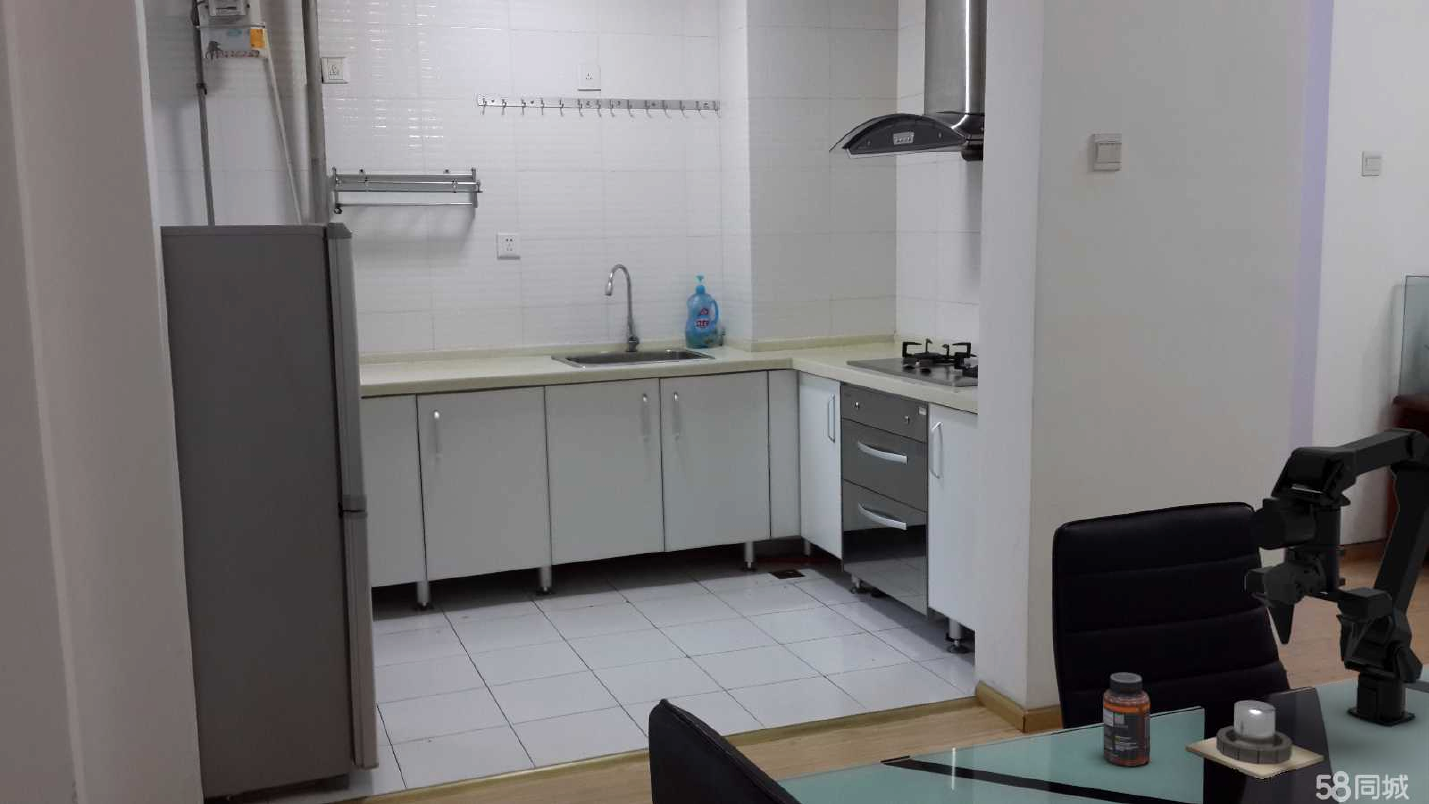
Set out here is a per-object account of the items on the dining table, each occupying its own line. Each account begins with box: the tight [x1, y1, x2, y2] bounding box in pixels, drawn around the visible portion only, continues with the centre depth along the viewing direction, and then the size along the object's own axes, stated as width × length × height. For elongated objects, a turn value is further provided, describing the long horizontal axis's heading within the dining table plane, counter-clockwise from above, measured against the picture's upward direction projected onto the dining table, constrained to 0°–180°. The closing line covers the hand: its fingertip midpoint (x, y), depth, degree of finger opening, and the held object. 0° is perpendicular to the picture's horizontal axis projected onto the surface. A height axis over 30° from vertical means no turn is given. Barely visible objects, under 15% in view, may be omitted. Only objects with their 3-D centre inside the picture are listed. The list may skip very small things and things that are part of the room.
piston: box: [1233, 699, 1276, 748], centre depth 166 cm, size 5×5×6 cm
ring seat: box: [1185, 725, 1324, 780], centre depth 166 cm, size 12×12×2 cm
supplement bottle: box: [1102, 672, 1151, 767], centre depth 166 cm, size 6×6×11 cm
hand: (1314, 652), depth 171 cm, fingers open, 9 cm apart
